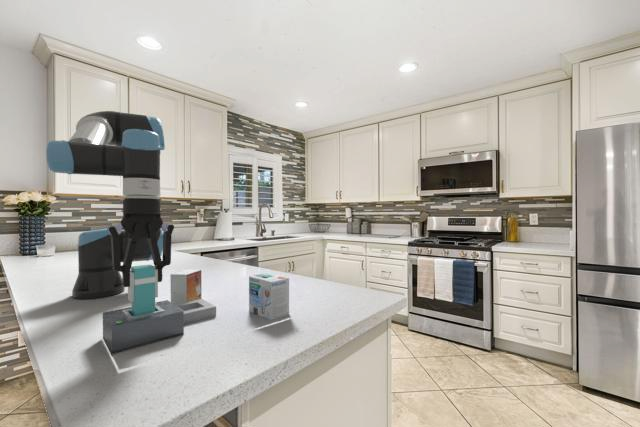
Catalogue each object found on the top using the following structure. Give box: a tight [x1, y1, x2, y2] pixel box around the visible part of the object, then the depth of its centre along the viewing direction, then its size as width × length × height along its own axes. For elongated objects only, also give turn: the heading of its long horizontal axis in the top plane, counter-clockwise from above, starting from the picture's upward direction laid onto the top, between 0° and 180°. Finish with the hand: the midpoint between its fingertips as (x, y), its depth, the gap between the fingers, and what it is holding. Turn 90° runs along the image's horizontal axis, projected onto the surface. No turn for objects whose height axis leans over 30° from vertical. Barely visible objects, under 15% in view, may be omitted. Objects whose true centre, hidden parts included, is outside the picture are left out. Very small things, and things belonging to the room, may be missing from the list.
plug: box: [130, 264, 156, 316], centre depth 70 cm, size 4×4×12 cm
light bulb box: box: [248, 272, 290, 321], centre depth 85 cm, size 11×7×11 cm, turn 47°
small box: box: [170, 268, 202, 305], centre depth 94 cm, size 8×6×10 cm
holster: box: [175, 298, 217, 325], centre depth 83 cm, size 10×10×3 cm
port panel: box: [102, 299, 185, 357], centre depth 70 cm, size 12×14×6 cm
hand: (143, 298), depth 70 cm, fingers closed on plug, 4 cm apart
